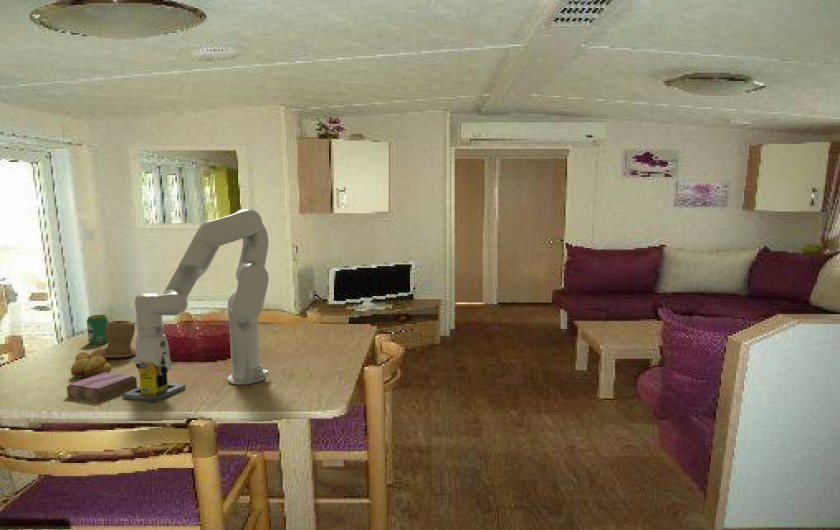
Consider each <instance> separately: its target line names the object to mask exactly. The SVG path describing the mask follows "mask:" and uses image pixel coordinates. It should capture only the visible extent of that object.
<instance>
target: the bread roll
mask: <svg viewBox="0 0 840 530" xmlns="http://www.w3.org/2000/svg"><path fill="white" fill-rule="evenodd" d="M106 359H107V358H103V357H101V356H91V355H90V354H89V353H88V352H83V351H81V352H79V353H78V354H76V355H75V361H74V363H73V364H72V366H71V368H70V373H71V375H72V376H73V377H75V378H83V376H84V378H89V377H92V376H95V375H98V374H101V373H104V372H109V373H111V371H112V365H111V364H110V363H109V362H107V360H106Z"/></svg>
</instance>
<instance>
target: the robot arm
mask: <svg viewBox="0 0 840 530" xmlns="http://www.w3.org/2000/svg"><path fill="white" fill-rule="evenodd" d="M241 239H242V246H241V247H242V248H241V254H240V257H239V261H238V266H237V267H236V268H237V269H236V273H235V278H236V280H237V286H236V291H235V292H233V293H232V294H231V295H230V296H229V298H228V300H227V316H228V317H227V318H228V324H229V327H228V329H229V343H230V345H229V346H230V347H229V348H230V361H231V365H230V366H231V374H229V375H228V376H227V379H226V380H227V383H229V384H232V385H235V386H237V385H241V386H242V385H243V386H244V385H245V386H246V385H251V384H255V383H256V384H257V383H259V382H261V381H263V380H264V379H266V378H268V374H270V373H269V371H270V370H269V369H268V370H266V369H264V368H263V365H261V362H260V361H261V359H260V358H261V357H260V340H259V335H260V334H259V323H258V318H260V315H261V313H262V312H263V309H264V308H263V307H264V303H265V300H266V299H265V298H266V295H267V290H268V285H269V279H270V278H269V273H268V270H267V269H266V262H267V256H268V250H269V234H268V232H267V228H266V227H265V225H264V223H263V220H262V217H261V215H260V213H258V212H257V211H256V210H253V209H249V208H242V209H239V210H236V211H235V212H234V213H232V214H230V215H226V216H223V217H219V218H217V219H208V220H205V221H204V222H202V223H201V224H200V226H199V227H198V229H197V230H196V232H195V235H194V236H193V238H192V239H191V242H190V243H189V246H188V248H187V249H186V251H185V253H184V254H183V257H182V259H181V260H180V262H179V264H178V267H177V268H176V269H175V271H174V273H173V275H172V276H171V279H170V280H169V283H168V284H167V286H166V288H165V290H164V292H163V293H162V294H159V293H157V292H145V293H139V294H137V295H136V296H135V298H134V305H135V320H136V334H137V335H136V339H135V340H136V342H135V350H136V354H135V357H134V358H133V359H132V362H133V363H134V364H135V366H136V368H137V370H139V363H148V364H155V366H156V367H157V371H158V374H159V375H157V380H158V387H162V386H164V385H167V379H168V373H169V370H171V368H172V366H173V365H174V364H173V361H172V360H171V358H170V357H171V356H170V347H169V343H168V339H167V336H166V334H164V333H165V328H164V322H163V316H178V315H181V314H183V313H184V312H185V311H186V310H187V308H188V298H189V296H190V293H191V291H192V290H193V288H194V286H195V284H196V283H197V281H198V280H199V279H200V278H201V277H202V276H203V275H204V274H205V273H206V272H207V271H208V269H209V268H210V266H211V263H212V262H213V260H214V258H215V256H216V254H217V253H218V250H219V249H220V247H221V246H224V245H228V244H230V243H233V242H236V241H239V240H241ZM161 363H162V364H161ZM165 364H166V365H165ZM160 367H162V368H163V369H162V370H161V368H160ZM166 373H167V375H166Z"/></svg>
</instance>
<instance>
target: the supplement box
mask: <svg viewBox="0 0 840 530" xmlns="http://www.w3.org/2000/svg"><path fill="white" fill-rule="evenodd" d="M161 364H162V363H161ZM165 365H166V364H165ZM160 368H161V370H162V369H163V368H162V367H160ZM138 372H139V385H140V386H139V387H140V388H141V394H148V395H156V394H159V393H161V392H163V391H166V390H168V378H167V385H164V386H162V387H158V380H157V375H159V374H158V371H157V367H156V366H155V364H148V363H139V369H138ZM166 375H167V376H168V373H166Z"/></svg>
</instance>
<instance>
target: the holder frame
mask: <svg viewBox="0 0 840 530" xmlns="http://www.w3.org/2000/svg"><path fill="white" fill-rule="evenodd" d="M181 390H182V391H184V390H186V384H184V383H183V384H182V383H176V382H175V383H174V382H168V390H166V391H163V392H161V393H159V394H156V395H148V394H141V388H140V386H138V387H135V388H133V389H130V390H128V391H125V392H123V393H122V399H125V400H131V399H132V401H139V402H144V403H145V402H146V403H150V404H151V403H152V404H155V403H158V402H159V401H162V400H164V399H166V397H167V398H168V397H171V396H173V395H175V394H178V393H180V392H182V391H181ZM179 391H180V392H179ZM177 392H178V393H177Z"/></svg>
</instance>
